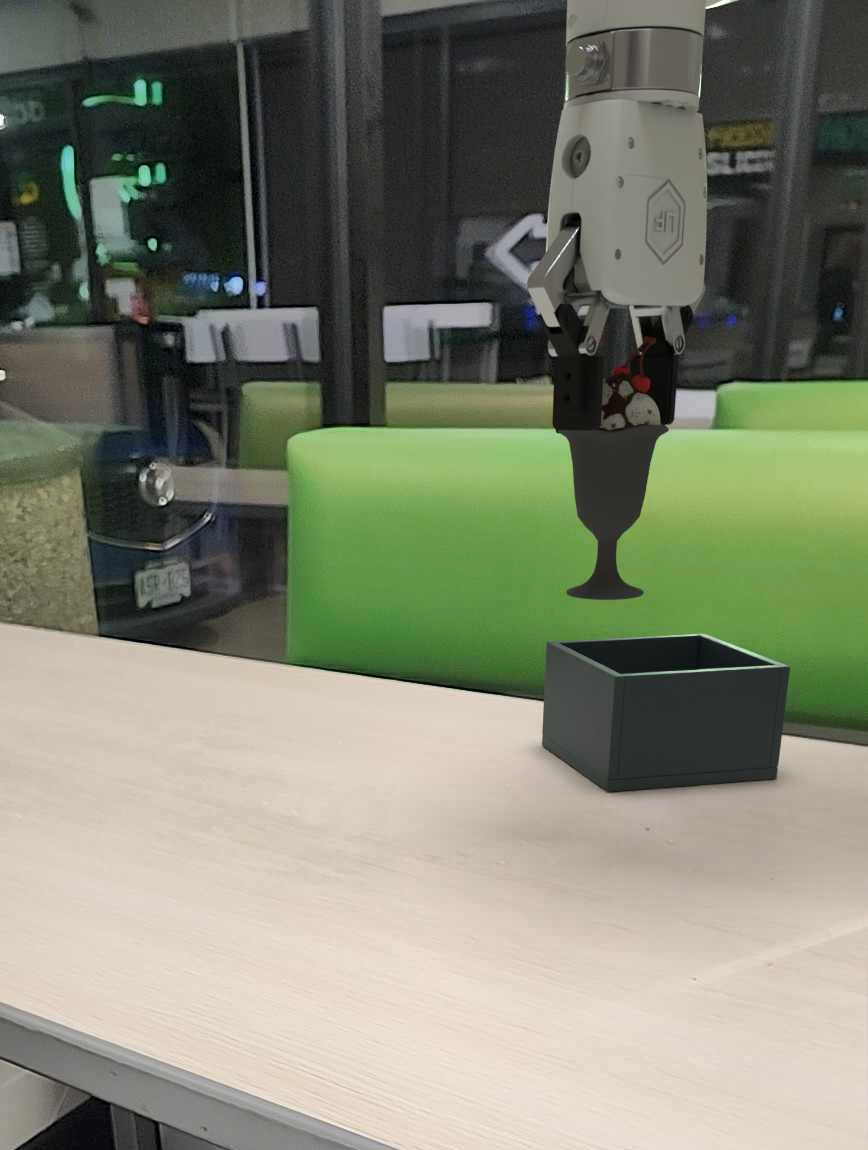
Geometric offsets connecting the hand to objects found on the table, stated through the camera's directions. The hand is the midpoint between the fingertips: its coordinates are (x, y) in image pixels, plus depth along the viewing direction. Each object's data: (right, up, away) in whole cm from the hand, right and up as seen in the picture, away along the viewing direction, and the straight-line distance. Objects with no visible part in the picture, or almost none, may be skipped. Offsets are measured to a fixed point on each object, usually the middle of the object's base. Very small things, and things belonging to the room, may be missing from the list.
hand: (614, 424), depth 81 cm
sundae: (0, -9, +4) cm, 10 cm away
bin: (+9, -16, +30) cm, 35 cm away
